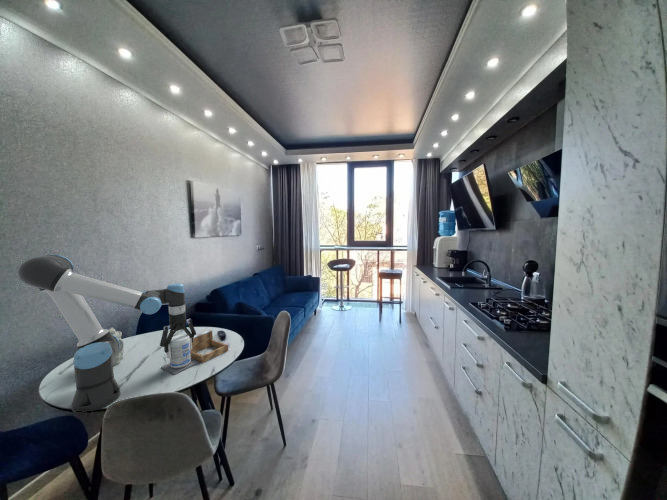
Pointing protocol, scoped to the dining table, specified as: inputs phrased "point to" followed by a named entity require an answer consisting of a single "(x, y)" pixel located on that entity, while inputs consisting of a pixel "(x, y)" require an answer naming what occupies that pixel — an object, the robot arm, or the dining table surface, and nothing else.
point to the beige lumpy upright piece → (120, 352)
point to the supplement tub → (180, 351)
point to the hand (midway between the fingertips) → (179, 353)
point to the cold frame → (204, 342)
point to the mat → (178, 370)
